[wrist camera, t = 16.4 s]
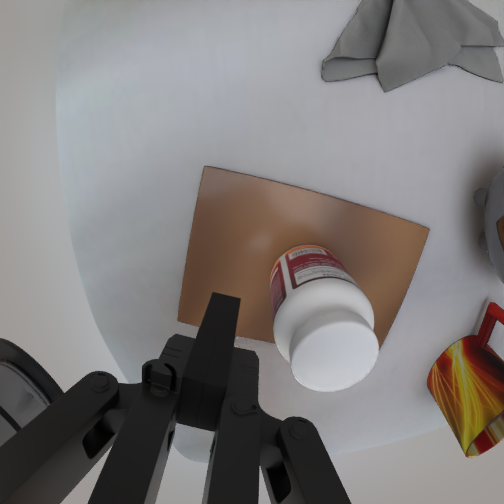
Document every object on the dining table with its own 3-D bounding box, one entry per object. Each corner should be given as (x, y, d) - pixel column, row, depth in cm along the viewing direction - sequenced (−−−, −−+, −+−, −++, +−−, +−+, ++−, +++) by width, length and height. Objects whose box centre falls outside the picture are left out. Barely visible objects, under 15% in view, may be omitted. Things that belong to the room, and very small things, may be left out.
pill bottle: (305, 323, 25) (326, 416, 15) (253, 280, 24) (247, 367, 14) (356, 275, 24) (411, 350, 13) (307, 226, 23) (343, 282, 12)
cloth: (476, -12, 13) (486, -18, 11) (520, 87, 17) (532, 86, 15) (275, -25, 16) (275, -38, 14) (329, 101, 20) (336, 95, 18)
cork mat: (178, 318, 26) (177, 321, 26) (205, 165, 22) (204, 165, 21) (373, 355, 27) (375, 358, 26) (426, 227, 23) (430, 228, 22)
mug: (488, 294, 25) (552, 347, 13) (481, 372, 28) (520, 425, 17) (425, 330, 26) (480, 404, 15) (426, 404, 30) (459, 468, 18)
